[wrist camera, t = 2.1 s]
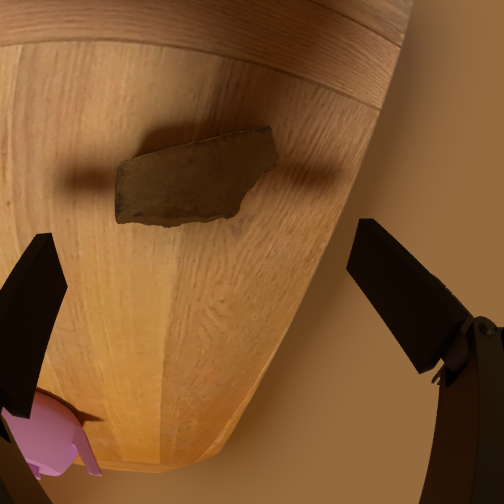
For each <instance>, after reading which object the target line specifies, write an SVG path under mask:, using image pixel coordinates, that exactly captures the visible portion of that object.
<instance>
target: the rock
mask: <svg viewBox="0 0 504 504" xmlns="http://www.w3.org/2000/svg"><path fill="white" fill-rule="evenodd" d="M277 160H278V154H277V151H276V147H275V144H274V139H273V135H272V128H271V127H270V126H265V127H261V128H256V129H251V130H246V131H239V132H233V133H229V134H224V135H220V136H216V137H212V138H207V139H204V140H201V141H193V142H190V143H187V144H184V145H180V146H174V147H170V148H167V149H164V150H160V151H157V152H153V153H149V154H146V155H142V156H139V157H136V158H133V159H130V160H126V161H123V162H120V163H119V165H118V166H117V173H116V181H115V218H116V222H117V223H118V224H120V223H121V224H125V223H131V222H134V223H141V224H144V225H149V226H150V225H158V226H163V227H164V228H166V227H168V228H170V227H176V226H180V225H181V224H182V223H189V222H204V223H207V222H210V221H214V220H216V219H219V218H221V217H223V218H225V219H226V220H227V219H229V218H231V217H234V216H235V215H236V214H237V213H238V212H239V210H240V205H241V202H242V200H243V198H244V196H245V195H246V193H247V192H248V191H249V189H251V188H252V187H253V186H254V185H255V184H256V182H257V181H258V180H259V179H260V177H261V175H262V173H263V172H266V171H271V170H272V169H274V167H275V162H276V161H277Z"/></svg>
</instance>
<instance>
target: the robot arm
mask: <svg viewBox="0 0 504 504" xmlns="http://www.w3.org/2000/svg"><path fill="white" fill-rule="evenodd" d="M346 270H347V271H348V272H349V274H350V275H351V276H352V278H353V279H354V280H355V282H356V283H357V284H358V286H359V287H360V289H361V290H362V291H363V293H364V294H365V295H366V297H367V298H368V300H369V301H370V302H371V304H372V305H373V307H374V308H375V309H376V311H377V312H378V314H379V315H380V316H381V318H382V319H383V321H384V322H385V324H386V325H387V327H388V328H389V329H390V331H391V332H392V334H393V335H394V337H395V338H396V339H397V341H398V342H399V344H400V346H401V347H402V349H403V350H404V352H405V353H406V355H407V356H408V357H409V359H410V361H411V362H412V363H413V365H414V367H415V368H416V370H417V371H418V373H419V374H421V373H424V372H426V371H429V370H431V369H433V368H434V367H435V366H436V364H437V363H438V361H439V360H440V359H441V358H442V360H443V361H444V365H443V366H442V367H441V368H440V370H439V371H438V372H437V374H436V375H435V376H434V377H433V379H432V383H434V382H435V381H436V380H437V378H438V377H440V380H439V382H438V383H437V385H440V387H439V399H438V409H437V417H436V425H435V431H434V438H433V444H432V449H431V455H430V460H429V465H428V469H427V474H426V478H425V482H424V486H423V490H422V494H421V498H420V501H419V504H504V327H497V326H496V325H495V324H494V323H493V322H492V321H491V320H489V319H487V318H486V317H482V316H479V317H476V318H474V317H473V316H472V315H471V314H470V313H469V311H468V310H467V309H466V308H465V307H464V306H463V305H462V303H461V302H460V301H459V300H458V299H457V298H456V297H455V296H454V295H452V292H451V291H450V290H449V289H448V288H446V286H445V285H444V284H443V283H442V282H441V281H440V280H439V279H438V278H437V277H435V276H434V275H432V274H431V273H430V272H429V271H428V270H427V269H426V268H425V267H424V266H423V265H422V264H421V263H420V262H418V260H417V259H416V258H414V256H412V254H410V253H409V252H408V251H407V250H406V249H405V248H404V247H403V246H402V245H401V244H400V243H399V242H398V241H397V240H396V239H395V238H394V237H393V236H392V235H391V234H389V233H388V232H387V231H386V230H385V229H384V228H383V227H382V226H381V225H380V224H378V223H377V222H376V221H375V220H374V219H359V223H358V227H357V231H356V234H355V239H354V242H353V246H352V249H351V253H350V257H349V260H348V264H347V267H346ZM67 287H68V286H67V283H66V280H65V277H64V274H63V271H62V268H61V265H60V261H59V258H58V255H57V251H56V248H55V244H54V240H53V237H52V233H43V234H36V236H35V237H34V238H33V240H32V241H31V243H30V244H29V246H28V247H27V248H26V250H25V251H24V253H23V254H22V256H21V257H20V259H19V261H18V262H17V264H16V265H15V267H14V268H13V270H12V272H11V273H10V275H9V277H8V278H7V280H6V282H5V283H4V285H3V287H2V288H1V290H0V504H53V503H52V502H51V500H50V499H49V497H48V496H47V494H46V493H45V491H44V490H43V488H42V487H41V485H40V483H39V482H38V480H37V479H36V477H35V475H34V474H33V472H32V470H31V469H30V467H29V465H28V463H27V462H26V460H25V458H24V456H23V454H22V452H21V450H20V449H19V447H18V445H17V443H16V441H15V439H14V437H13V435H12V432H11V430H10V428H9V426H8V424H7V422H6V420H5V418H4V417H3V416H2V415H1V413H2V409H3V407H4V408H5V409H6V410H7V411H8V412H9V413H10V414H11V415H12V416H15V417H20V418H25V419H30V415H31V410H32V405H33V400H34V395H35V391H36V386H37V382H38V378H39V374H40V370H41V366H42V363H43V359H44V355H45V352H46V349H47V345H48V342H49V339H50V335H51V332H52V329H53V326H54V323H55V320H56V317H57V314H58V312H59V309H60V306H61V303H62V301H63V298H64V295H65V293H66V290H67Z"/></svg>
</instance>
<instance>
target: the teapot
mask: <svg viewBox="0 0 504 504" xmlns="http://www.w3.org/2000/svg"><path fill="white" fill-rule="evenodd" d="M1 415H2V416H3V417H4V418H5V420H6V422H7V424H8V426H9V428H10V430H11V432H12V435H13V437H14V439H15V441H16V443H17V445H18V447H19V449H20V450H21V452H22V454H23V456H24V458H25V460H26V462H27V463H28V465H29V467H30V469H31V470H32V472H33V474H34V475H35V477H36V479H37V480H40V479H41V478H40V474H39V473H42V474H46V475H52V476H58V475H61V474H62V473H63V472H64V471H65V470H66V469H67V468H68V467H69V466H70V465H71V464H72V462H73V461H74V460H75V458H76V457H77V455H78V453H79V454H80V456H81V458H82V460H83V462H84V464H85V466H86V467H87V469H88V473H90V474H91V475H98V476H102V473H101V470H100V468H99V466H98V463H97V461H96V459H95V456H94V454H93V451H92V448H91V446H90V443H89V440H88V438H87V435H86V433H85V432H84V430H83V428H82V426H81V424H80V423H79V421H78V419H77V418H76V417H75V415H74V414H73V412H72V411H71V410H70V409H69V408H67V407H66V406H65V405H63V404H62V403H60V402H59V401H57V400H55V399H54V398H52V397H50V396H47V395H45V394H43V393H41V392H38V391H35V395H34V400H33V405H32V410H31V415H30V419H25V418H20V417H15V416H12V415H11V414H10V413H9V412H8V411H7V410H6V409H5V408H4V407H3V409H2V413H1Z"/></svg>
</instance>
